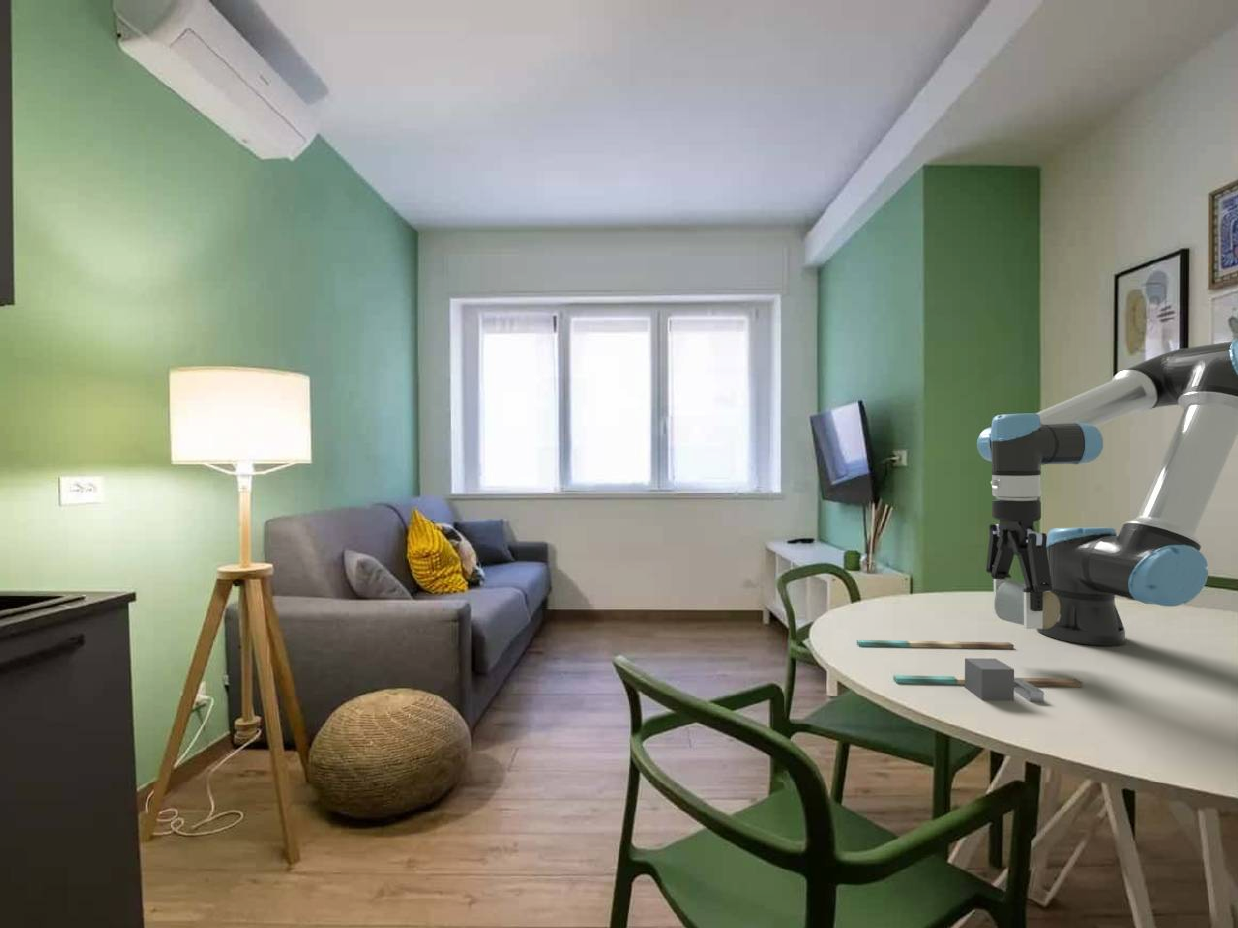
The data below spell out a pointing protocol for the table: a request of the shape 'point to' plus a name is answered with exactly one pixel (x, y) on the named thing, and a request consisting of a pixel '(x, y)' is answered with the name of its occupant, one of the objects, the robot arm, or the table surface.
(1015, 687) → the bar
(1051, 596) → the ceramic mug
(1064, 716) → the table surface
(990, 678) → the block
